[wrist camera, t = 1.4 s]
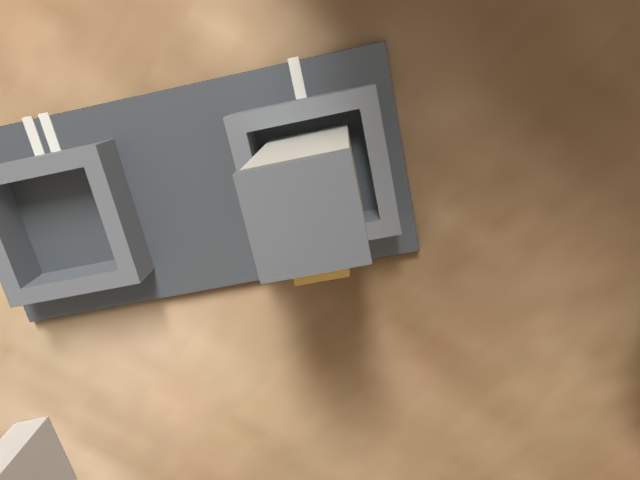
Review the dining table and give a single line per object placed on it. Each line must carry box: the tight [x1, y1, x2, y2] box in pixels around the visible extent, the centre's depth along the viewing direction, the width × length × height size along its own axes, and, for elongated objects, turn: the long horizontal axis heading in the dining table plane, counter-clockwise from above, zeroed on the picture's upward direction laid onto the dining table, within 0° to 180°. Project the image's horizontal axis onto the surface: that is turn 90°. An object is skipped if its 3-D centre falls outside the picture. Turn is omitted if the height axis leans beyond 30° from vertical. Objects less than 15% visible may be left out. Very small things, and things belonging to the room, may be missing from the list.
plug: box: [232, 123, 372, 286], centre depth 27 cm, size 5×4×11 cm
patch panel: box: [0, 41, 420, 322], centre depth 32 cm, size 12×25×3 cm, turn 102°
